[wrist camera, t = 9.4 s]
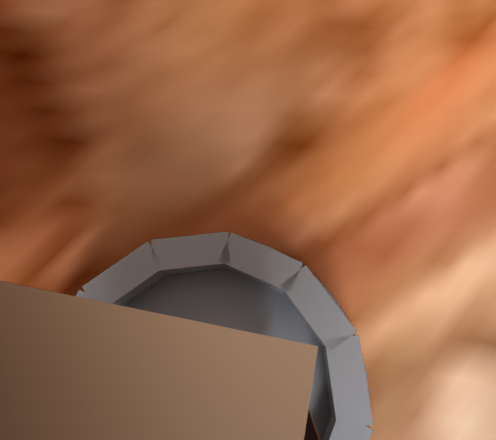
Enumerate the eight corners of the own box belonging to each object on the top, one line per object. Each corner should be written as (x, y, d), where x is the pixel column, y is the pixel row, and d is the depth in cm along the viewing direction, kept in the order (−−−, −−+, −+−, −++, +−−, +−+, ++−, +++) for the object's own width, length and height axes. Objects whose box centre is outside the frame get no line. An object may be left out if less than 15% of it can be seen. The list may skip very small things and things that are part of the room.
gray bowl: (431, 429, 16) (453, 441, 15) (161, 653, 15) (146, 699, 13) (243, 185, 19) (240, 168, 17) (1, 353, 18) (-31, 354, 16)
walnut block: (253, 485, 15) (170, 1304, 2) (120, 453, 15) (-587, 988, 3) (277, 344, 16) (316, 346, 3) (154, 318, 16) (-222, 235, 4)
